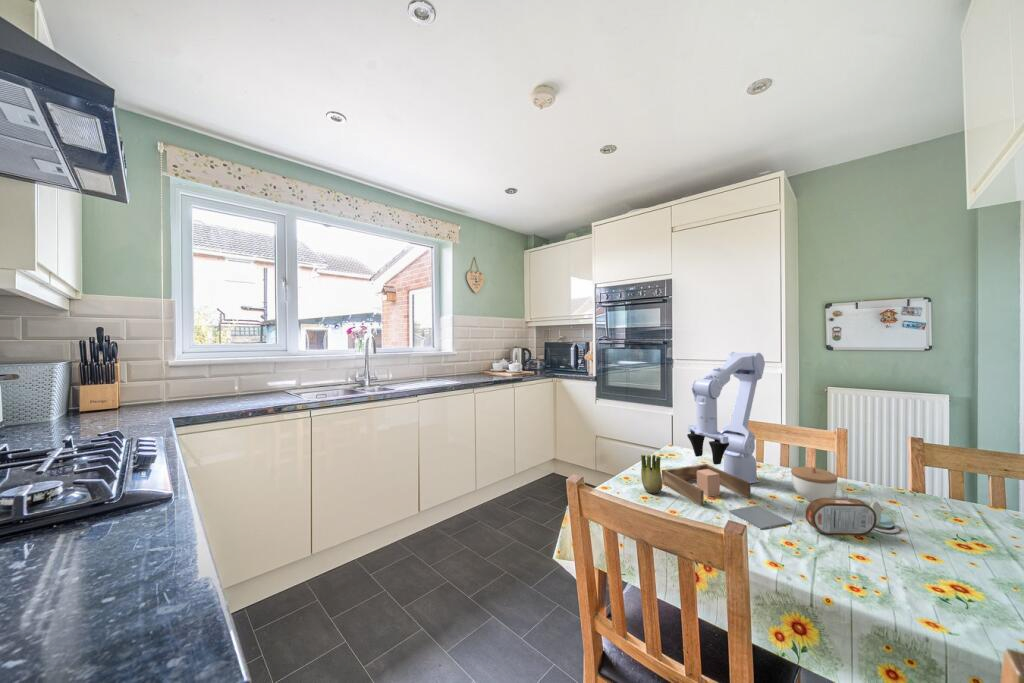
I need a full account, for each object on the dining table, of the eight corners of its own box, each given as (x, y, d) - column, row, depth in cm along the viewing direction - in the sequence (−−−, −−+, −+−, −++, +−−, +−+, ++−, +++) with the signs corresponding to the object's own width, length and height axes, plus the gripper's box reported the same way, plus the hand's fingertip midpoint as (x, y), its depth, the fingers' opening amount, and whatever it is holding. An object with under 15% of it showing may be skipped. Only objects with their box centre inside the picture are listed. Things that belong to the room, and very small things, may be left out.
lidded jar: (846, 502, 107) (846, 470, 107) (822, 509, 103) (822, 476, 103) (806, 488, 117) (805, 459, 117) (783, 494, 113) (782, 464, 113)
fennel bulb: (639, 490, 119) (639, 453, 119) (649, 486, 122) (649, 450, 122) (655, 496, 114) (654, 458, 114) (665, 493, 117) (664, 455, 117)
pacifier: (906, 531, 92) (876, 519, 97) (907, 507, 91) (876, 496, 97) (887, 537, 89) (858, 525, 95) (888, 512, 89) (858, 501, 95)
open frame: (706, 476, 129) (706, 464, 129) (750, 497, 112) (750, 483, 112) (662, 483, 124) (661, 470, 124) (700, 506, 107) (700, 491, 107)
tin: (868, 530, 92) (868, 497, 92) (880, 537, 89) (879, 503, 89) (804, 529, 94) (803, 496, 94) (813, 536, 91) (812, 502, 90)
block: (708, 488, 119) (708, 468, 119) (719, 494, 115) (719, 473, 115) (697, 490, 118) (696, 470, 118) (707, 496, 114) (707, 475, 113)
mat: (757, 506, 106) (757, 505, 106) (791, 523, 96) (791, 522, 96) (729, 511, 104) (729, 510, 104) (761, 529, 94) (761, 528, 94)
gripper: (680, 413, 122) (680, 454, 122) (714, 423, 108) (715, 469, 108) (697, 411, 124) (698, 451, 124) (733, 421, 110) (734, 466, 110)
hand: (707, 459), depth 116 cm, fingers open, 7 cm apart
